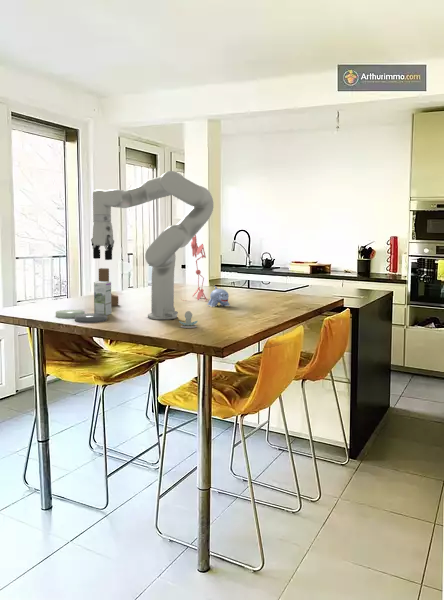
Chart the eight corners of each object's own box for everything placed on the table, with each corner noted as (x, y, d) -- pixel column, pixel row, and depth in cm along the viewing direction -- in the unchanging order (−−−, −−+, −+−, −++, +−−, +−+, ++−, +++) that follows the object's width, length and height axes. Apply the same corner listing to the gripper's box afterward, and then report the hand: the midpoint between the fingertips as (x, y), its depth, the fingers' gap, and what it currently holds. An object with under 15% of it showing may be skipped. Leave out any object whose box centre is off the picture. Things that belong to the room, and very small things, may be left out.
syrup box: (111, 313, 235) (111, 281, 234) (105, 315, 230) (105, 282, 228) (100, 312, 237) (100, 280, 235) (93, 314, 231) (93, 281, 229)
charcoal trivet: (113, 321, 219) (113, 316, 219) (85, 324, 210) (84, 319, 210) (96, 316, 229) (96, 312, 228) (69, 320, 220) (69, 315, 219)
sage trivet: (89, 317, 228) (89, 312, 228) (64, 319, 220) (63, 315, 219) (76, 313, 237) (76, 308, 236) (50, 315, 228) (50, 311, 228)
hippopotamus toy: (214, 309, 256) (214, 289, 255) (204, 304, 270) (205, 286, 269) (235, 308, 260) (235, 289, 258) (224, 304, 274) (225, 285, 272)
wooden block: (118, 304, 262) (118, 268, 260) (117, 306, 258) (117, 269, 255) (99, 304, 261) (99, 268, 259) (98, 305, 257) (98, 268, 254)
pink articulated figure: (202, 295, 303) (202, 233, 298) (211, 302, 278) (210, 235, 273) (175, 296, 300) (174, 234, 295) (182, 303, 275) (181, 235, 270)
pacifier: (198, 329, 206) (196, 325, 212) (198, 313, 205) (197, 310, 211) (179, 329, 205) (178, 325, 211) (180, 313, 204) (178, 310, 210)
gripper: (120, 219, 224) (120, 260, 227) (99, 219, 237) (99, 257, 239) (105, 219, 219) (105, 260, 222) (84, 219, 232) (84, 258, 234)
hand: (102, 259), depth 230 cm, fingers open, 9 cm apart
